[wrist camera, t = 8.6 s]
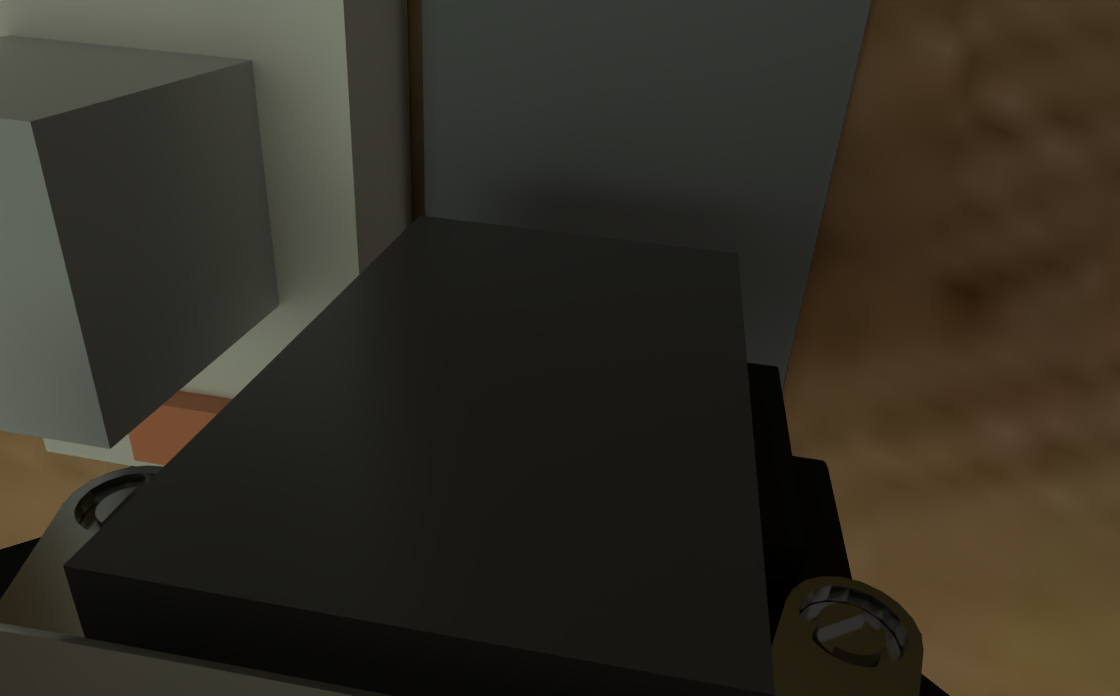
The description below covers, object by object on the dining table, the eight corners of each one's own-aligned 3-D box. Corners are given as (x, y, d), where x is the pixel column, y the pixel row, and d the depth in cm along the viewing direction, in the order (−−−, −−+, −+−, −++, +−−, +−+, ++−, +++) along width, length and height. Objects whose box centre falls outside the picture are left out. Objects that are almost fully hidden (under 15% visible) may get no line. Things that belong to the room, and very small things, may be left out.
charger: (737, 253, 12) (778, 735, 5) (691, 511, 14) (672, 1097, 7) (419, 215, 13) (31, 595, 5) (423, 469, 15) (157, 973, 8)
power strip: (389, -781, 11) (-197, -2040, 4) (417, 432, 20) (259, 695, 13) (-124, -762, 12) (-1319, -1742, 5) (129, 387, 21) (-158, 608, 14)
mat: (867, -11, 14) (873, -8, 14) (748, 519, 20) (748, 534, 19) (431, -46, 15) (421, -46, 15) (436, 467, 21) (429, 481, 20)
